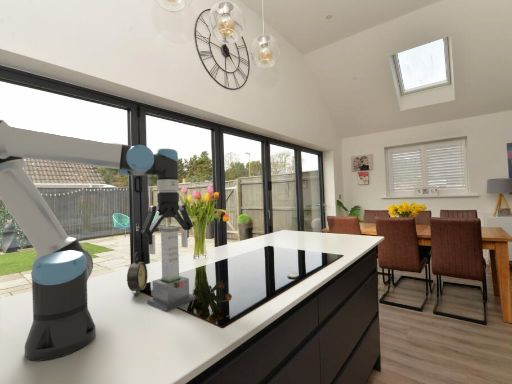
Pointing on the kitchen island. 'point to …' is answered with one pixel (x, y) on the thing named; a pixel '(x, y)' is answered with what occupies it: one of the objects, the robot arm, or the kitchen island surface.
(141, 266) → the alarm clock
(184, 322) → the kitchen island surface
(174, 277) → the column
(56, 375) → the kitchen island surface
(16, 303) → the kitchen island surface
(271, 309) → the kitchen island surface
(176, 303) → the stand base
